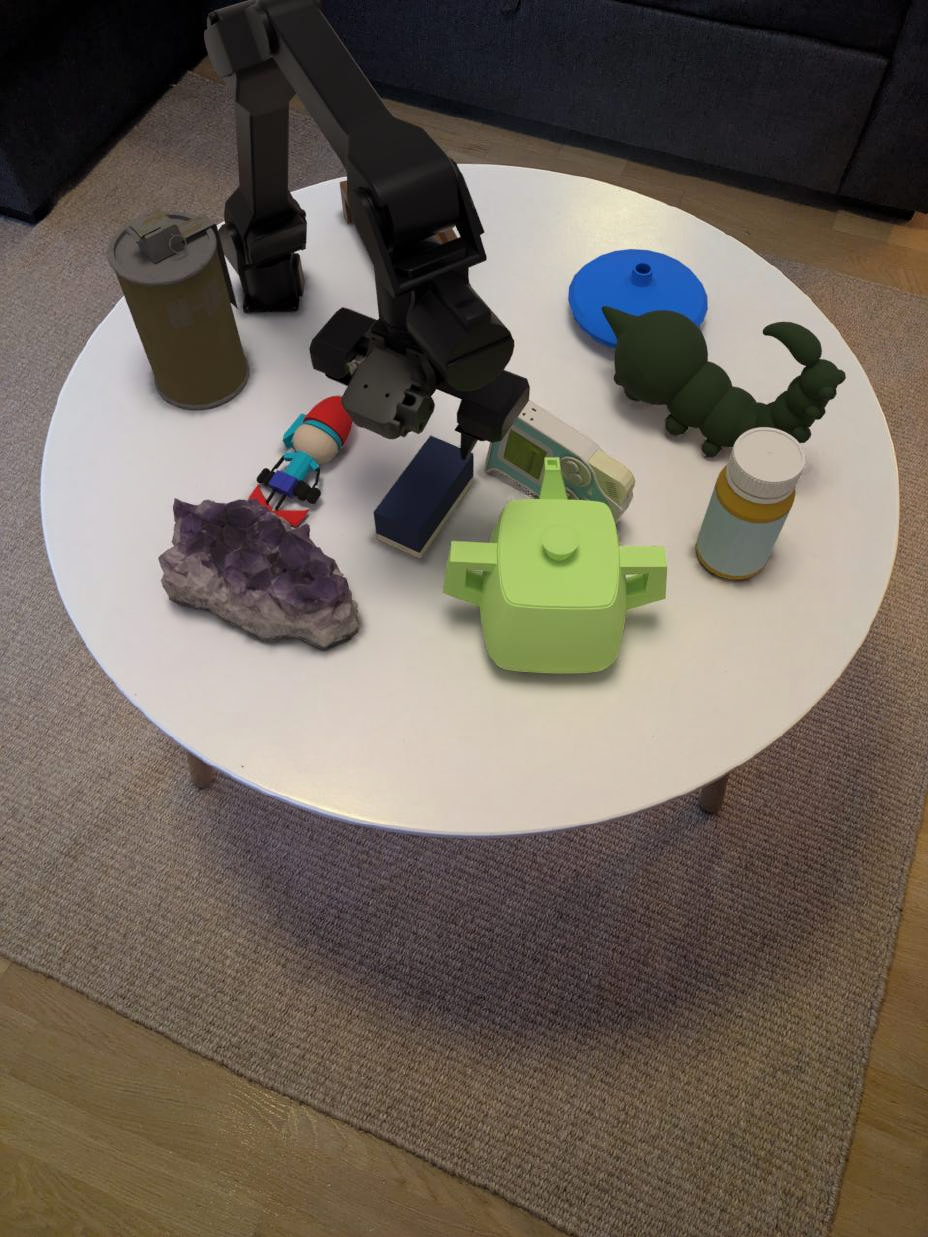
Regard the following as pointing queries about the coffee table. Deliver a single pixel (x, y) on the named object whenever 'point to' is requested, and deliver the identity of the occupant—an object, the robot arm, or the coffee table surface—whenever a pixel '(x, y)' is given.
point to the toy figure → (306, 456)
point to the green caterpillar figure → (715, 379)
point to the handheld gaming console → (578, 456)
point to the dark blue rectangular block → (423, 497)
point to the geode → (257, 573)
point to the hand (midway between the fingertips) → (422, 438)
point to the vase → (633, 290)
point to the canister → (181, 306)
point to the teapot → (554, 581)
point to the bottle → (750, 503)
